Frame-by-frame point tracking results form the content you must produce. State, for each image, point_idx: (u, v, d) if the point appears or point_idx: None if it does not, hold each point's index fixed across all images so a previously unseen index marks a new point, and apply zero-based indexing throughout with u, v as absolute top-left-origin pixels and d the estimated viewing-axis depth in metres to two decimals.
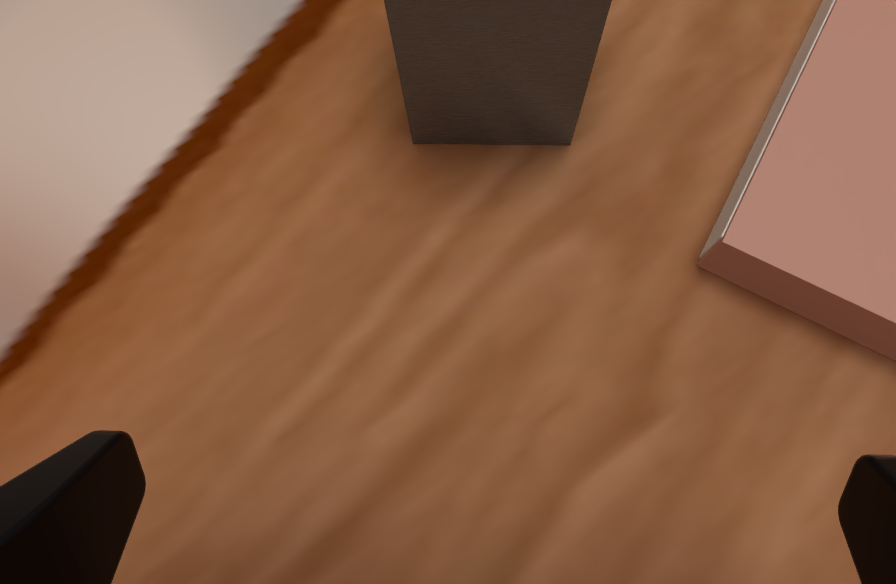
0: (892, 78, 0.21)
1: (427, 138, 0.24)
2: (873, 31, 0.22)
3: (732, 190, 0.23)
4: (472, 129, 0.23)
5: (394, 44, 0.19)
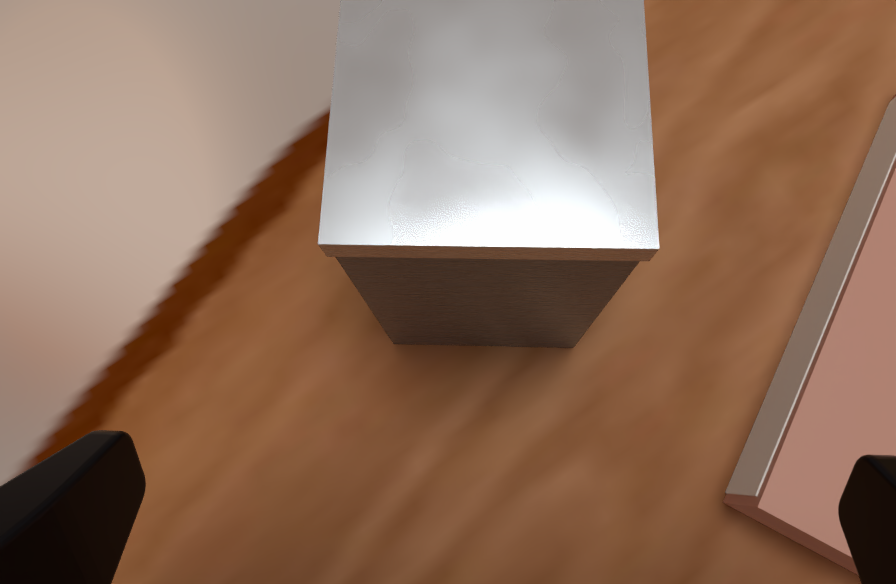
0: None
1: (409, 341, 0.21)
2: None
3: (763, 410, 0.20)
4: (461, 338, 0.20)
5: (364, 297, 0.16)
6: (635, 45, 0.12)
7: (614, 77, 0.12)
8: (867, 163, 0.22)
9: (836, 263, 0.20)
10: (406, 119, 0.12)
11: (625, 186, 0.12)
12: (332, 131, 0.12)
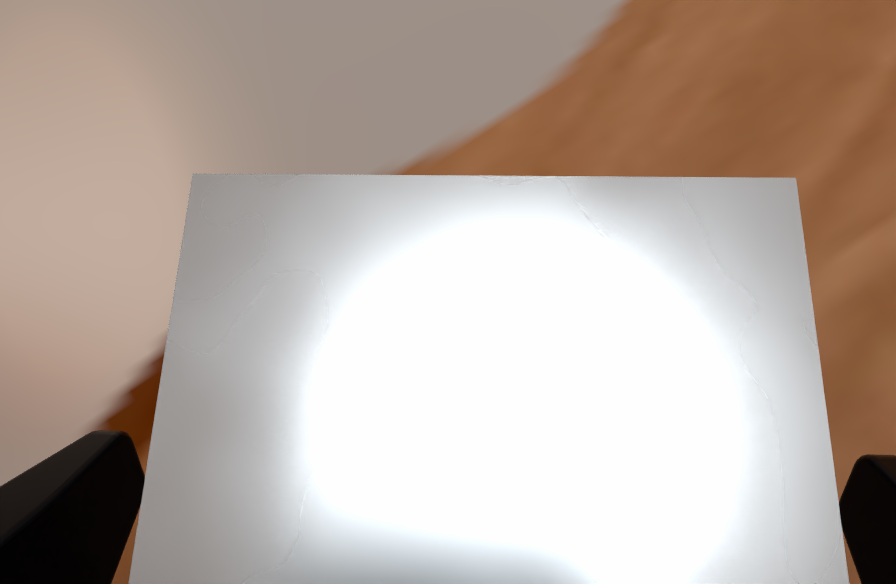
0: None
1: None
2: None
3: None
4: None
5: None
6: (795, 369, 0.06)
7: (756, 449, 0.06)
8: None
9: None
10: (301, 543, 0.06)
11: None
12: (139, 568, 0.06)
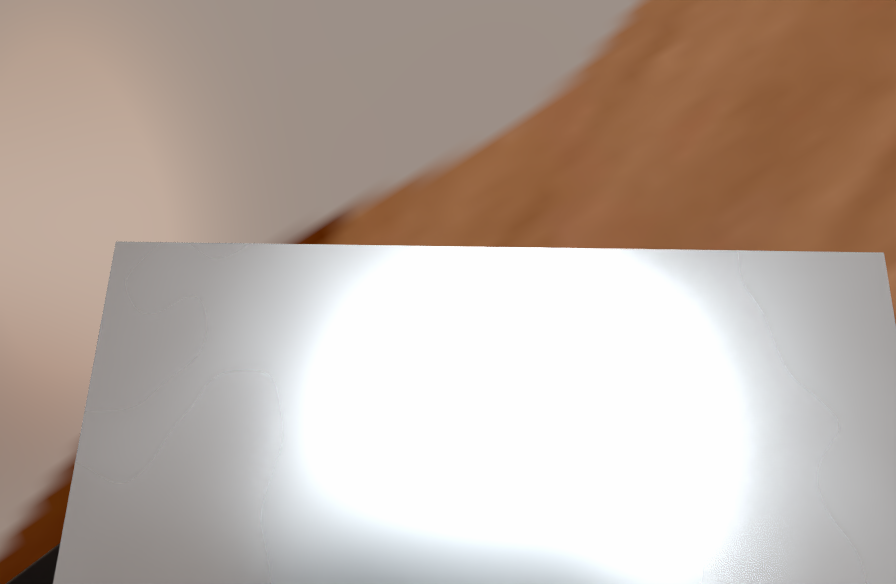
0: None
1: None
2: None
3: None
4: None
5: None
6: (891, 512, 0.04)
7: None
8: None
9: None
10: None
11: None
12: None
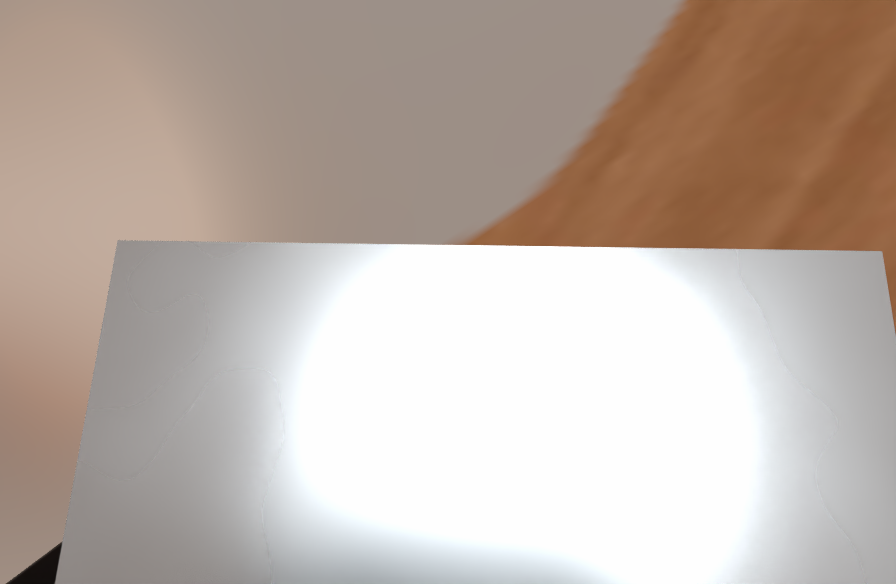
0: None
1: None
2: None
3: None
4: None
5: None
6: (891, 510, 0.04)
7: None
8: None
9: None
10: None
11: None
12: None
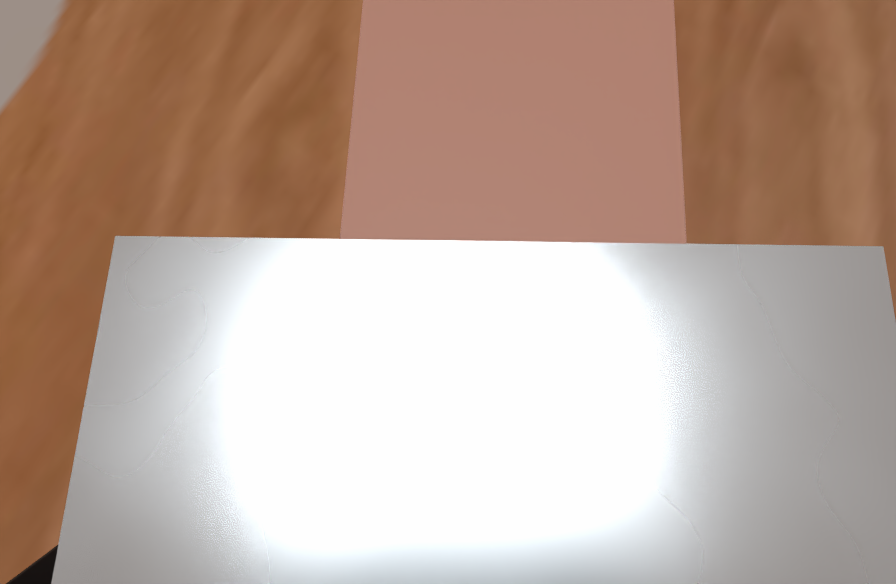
0: (427, 187, 0.21)
1: None
2: (394, 147, 0.21)
3: None
4: None
5: None
6: (891, 505, 0.04)
7: None
8: None
9: None
10: None
11: None
12: None
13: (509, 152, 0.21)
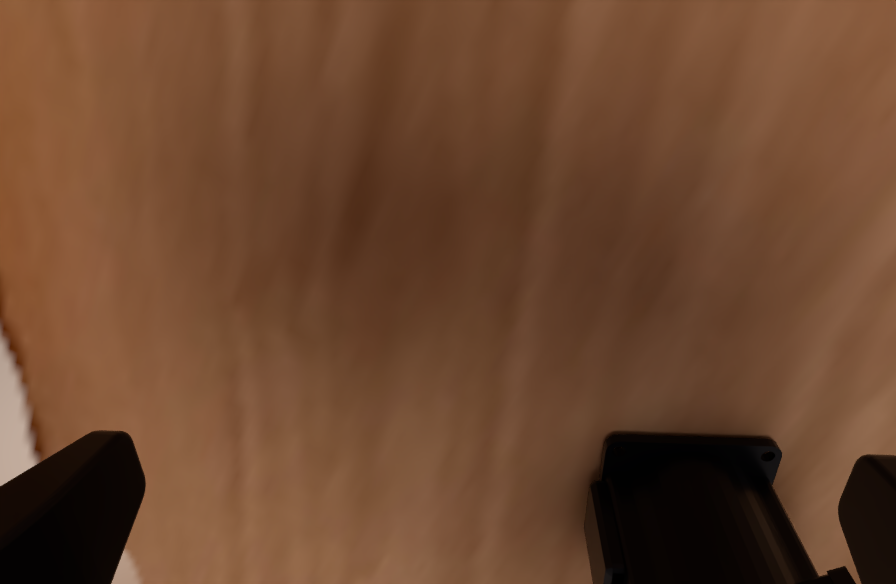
0: None
1: None
2: None
3: None
4: None
5: None
6: None
7: None
8: None
9: None
10: None
11: None
12: None
13: None
